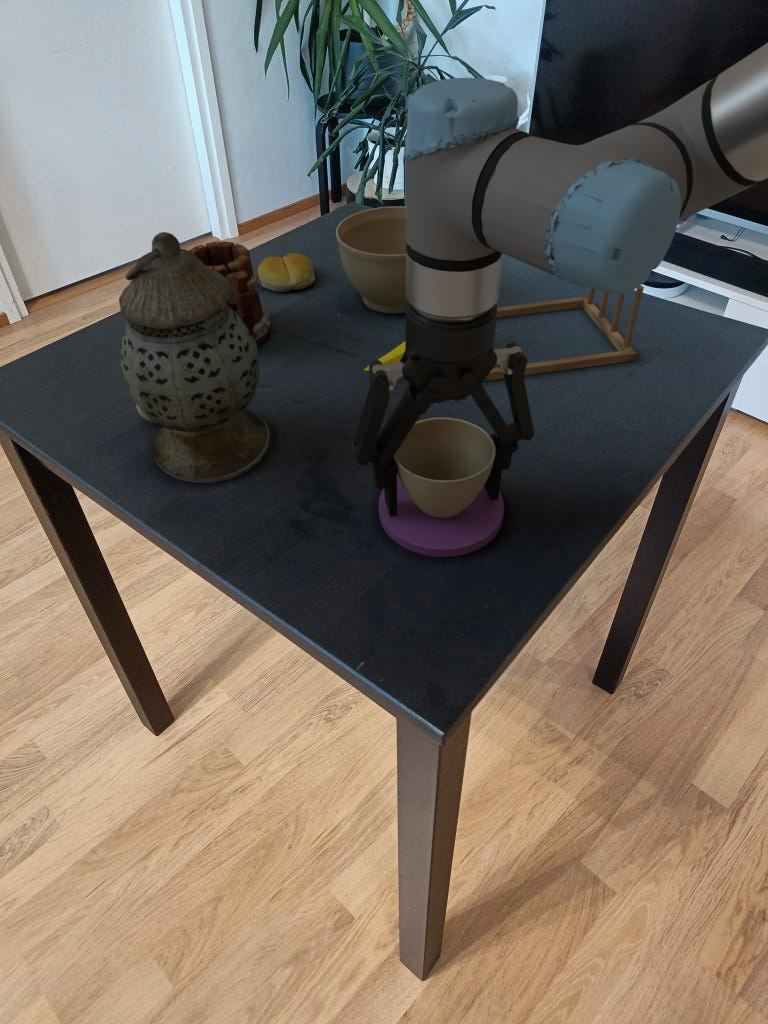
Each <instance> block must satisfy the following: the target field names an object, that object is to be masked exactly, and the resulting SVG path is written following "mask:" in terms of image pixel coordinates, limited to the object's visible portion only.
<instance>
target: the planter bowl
mask: <svg viewBox="0 0 768 1024" xmlns="http://www.w3.org/2000/svg"><path fill="white" fill-rule="evenodd" d="M335 239H336V242H337V245H338V250H339V252H338V253H339V256H340V261H341V264H342V267H343V269H344V271H345V272H344V273H345V274H346V276H347V279H348V280H349V281H350V283H351V284H352V286H353V287H354V289H356V291H357V292H358V293H359V294H360V296H361V298H362V302H363V303H364V305H365V306H366V307H368V308H369V309H371V310H372V311H375V312H379V313H384V314H393V315H396V314H404V313H405V314H406V303H407V301H408V300H407V298H406V251H407V250H406V206H402V205H401V206H400V205H399V206H395V205H394V206H393V205H392V206H391V205H389V206H380V207H375V208H373V207H372V208H369V209H365V210H362V211H358V212H356V213H353V214H351V215H348V216H347V217H345V218H344V219H342V220H341V221H340V222H339V223H338V224H337V226H336V229H335Z"/></svg>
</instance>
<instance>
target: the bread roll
mask: <svg viewBox="0 0 768 1024" xmlns="http://www.w3.org/2000/svg"><path fill="white" fill-rule="evenodd" d="M257 270H258V274H259V278H260V281H261V285H260V286H261V287H263V288H265V289H266V290H269V291H272V292H277V293H287V292H290V291H291V290H294V291H299V290H303V289H306V288H307V287H309V286H311V285H313V283H314V282H315V279H316V277H315V272H314V269H313V264H312V260H310V259H309V258H308V257H307V256H305V255H303V254H302V253H301V254H300V253H296V252H291V253H288V254H286V255H285V256H283V257H280V256H275V255H272V256H268V257H266V258H265V259H263V260H262V261H261V262H260V263H259V265H258V267H257Z"/></svg>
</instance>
